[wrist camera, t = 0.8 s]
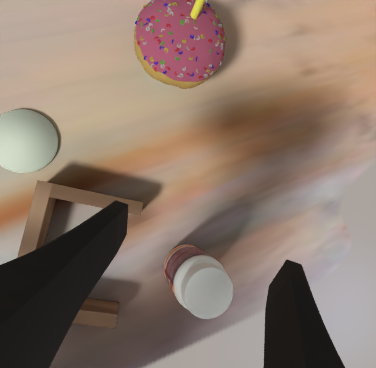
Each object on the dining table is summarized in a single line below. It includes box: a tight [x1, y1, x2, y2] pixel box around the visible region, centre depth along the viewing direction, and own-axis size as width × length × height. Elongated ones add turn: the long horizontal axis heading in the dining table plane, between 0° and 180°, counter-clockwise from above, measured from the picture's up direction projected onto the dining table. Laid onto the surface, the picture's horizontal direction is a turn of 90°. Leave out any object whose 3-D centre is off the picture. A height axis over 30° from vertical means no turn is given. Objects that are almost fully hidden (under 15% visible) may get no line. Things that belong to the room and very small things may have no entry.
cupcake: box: [134, 0, 226, 89], centre depth 24 cm, size 9×8×12 cm
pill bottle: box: [164, 244, 233, 319], centre depth 26 cm, size 5×5×8 cm
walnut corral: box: [17, 181, 143, 328], centre depth 26 cm, size 11×9×3 cm
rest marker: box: [0, 109, 58, 173], centre depth 26 cm, size 6×6×1 cm
